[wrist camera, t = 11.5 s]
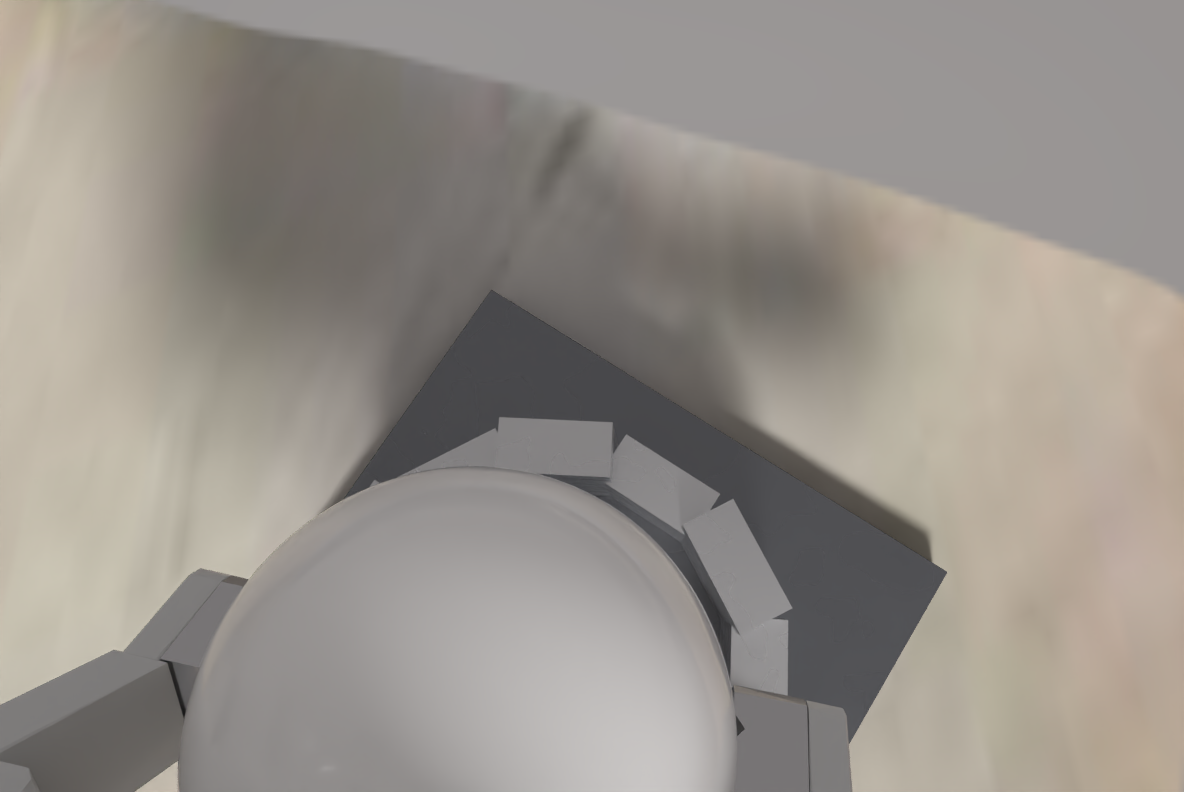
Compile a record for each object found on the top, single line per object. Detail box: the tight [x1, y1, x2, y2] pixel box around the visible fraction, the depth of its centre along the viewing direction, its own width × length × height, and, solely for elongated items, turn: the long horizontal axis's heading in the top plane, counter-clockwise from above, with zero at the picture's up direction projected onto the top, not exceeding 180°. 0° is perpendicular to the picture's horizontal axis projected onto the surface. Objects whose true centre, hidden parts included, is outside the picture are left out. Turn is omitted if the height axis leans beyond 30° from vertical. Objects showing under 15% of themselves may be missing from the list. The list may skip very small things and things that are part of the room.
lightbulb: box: [177, 466, 737, 792], centre depth 12 cm, size 6×6×11 cm
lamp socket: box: [343, 290, 947, 743], centre depth 20 cm, size 14×14×5 cm
